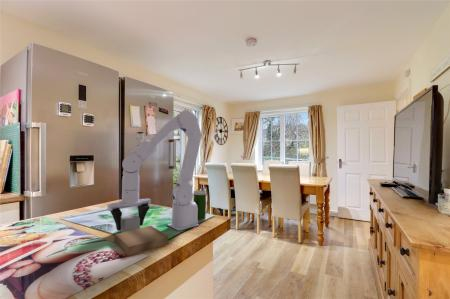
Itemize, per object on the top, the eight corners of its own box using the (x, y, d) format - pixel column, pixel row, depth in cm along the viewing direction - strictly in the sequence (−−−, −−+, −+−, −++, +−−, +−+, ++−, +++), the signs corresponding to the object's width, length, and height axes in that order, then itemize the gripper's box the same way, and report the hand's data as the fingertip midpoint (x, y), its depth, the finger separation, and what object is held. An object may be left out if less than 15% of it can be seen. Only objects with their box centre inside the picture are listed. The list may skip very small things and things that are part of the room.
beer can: (196, 222, 90) (196, 193, 90) (190, 218, 95) (191, 190, 95) (207, 220, 93) (208, 191, 93) (201, 216, 98) (202, 189, 98)
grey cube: (134, 228, 83) (134, 214, 83) (139, 232, 79) (139, 218, 79) (119, 231, 79) (120, 217, 79) (125, 235, 76) (125, 220, 76)
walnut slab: (150, 234, 78) (150, 225, 78) (167, 245, 70) (168, 236, 69) (114, 243, 70) (114, 234, 70) (128, 257, 61) (128, 247, 61)
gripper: (145, 185, 87) (144, 220, 87) (105, 189, 77) (104, 228, 77) (154, 188, 82) (153, 225, 82) (111, 193, 72) (110, 234, 72)
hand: (129, 227), depth 79 cm, fingers open, 7 cm apart
